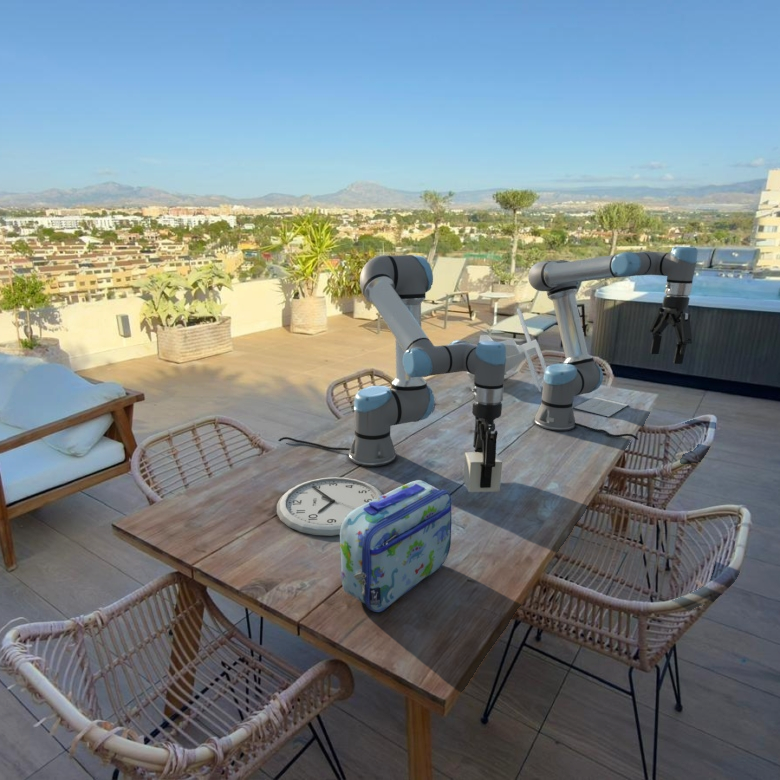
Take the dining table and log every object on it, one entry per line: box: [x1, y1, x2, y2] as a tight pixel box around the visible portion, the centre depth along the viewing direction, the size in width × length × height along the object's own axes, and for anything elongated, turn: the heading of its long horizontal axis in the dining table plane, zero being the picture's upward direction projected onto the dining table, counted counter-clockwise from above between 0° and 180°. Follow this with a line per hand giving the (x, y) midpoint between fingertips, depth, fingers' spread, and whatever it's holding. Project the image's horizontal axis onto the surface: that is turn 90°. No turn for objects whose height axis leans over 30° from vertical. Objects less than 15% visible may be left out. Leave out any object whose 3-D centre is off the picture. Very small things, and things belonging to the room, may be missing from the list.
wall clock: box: [276, 476, 385, 537], centre depth 142 cm, size 30×2×30 cm
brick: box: [463, 451, 503, 493], centre depth 142 cm, size 8×6×9 cm
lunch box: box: [339, 479, 452, 613], centre depth 109 cm, size 26×11×21 cm, turn 134°
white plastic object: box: [466, 307, 548, 393], centre depth 256 cm, size 37×45×31 cm
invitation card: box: [573, 396, 629, 418], centre depth 226 cm, size 21×1×15 cm
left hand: (481, 480), depth 143 cm, fingers closed on brick, 6 cm apart
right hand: (665, 358), depth 178 cm, fingers open, 13 cm apart
